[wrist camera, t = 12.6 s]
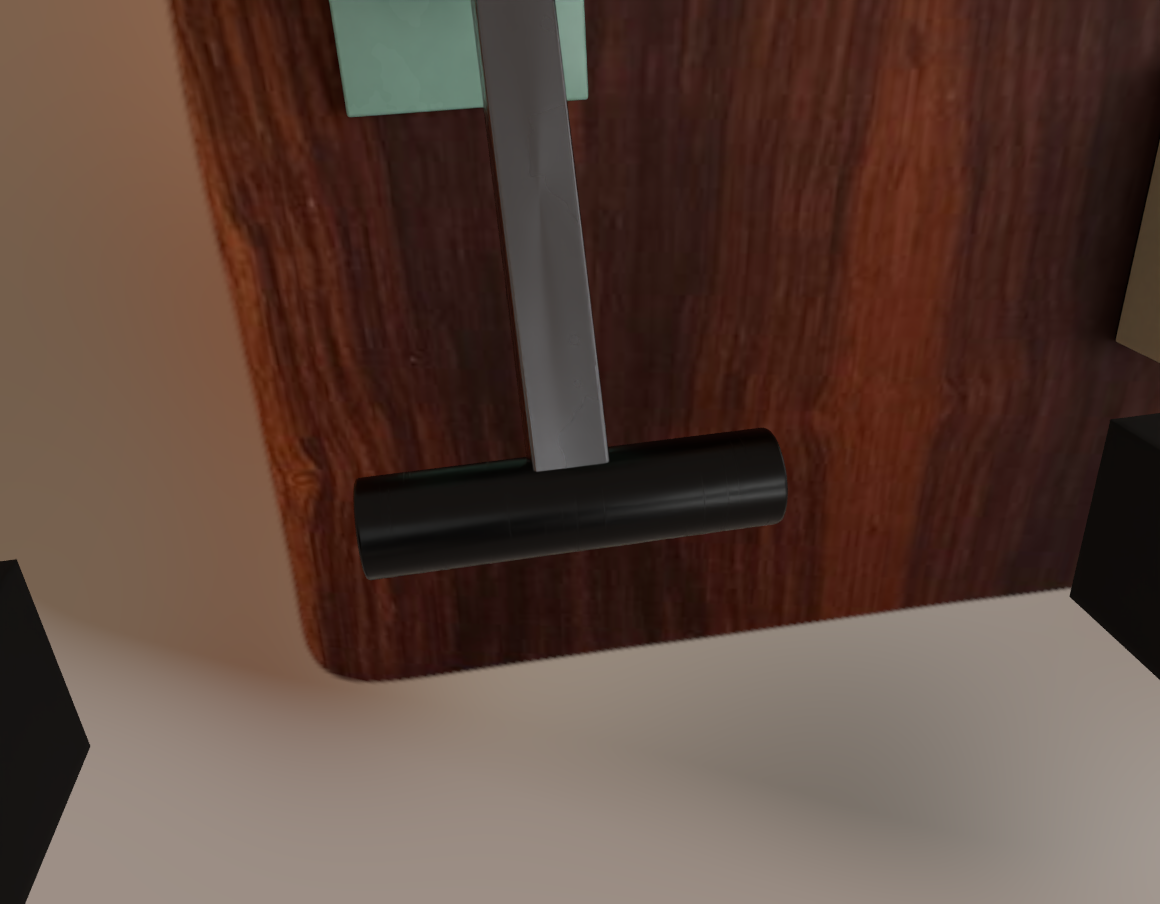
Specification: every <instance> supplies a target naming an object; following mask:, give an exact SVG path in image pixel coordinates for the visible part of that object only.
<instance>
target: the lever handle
mask: <svg viewBox="0 0 1160 904" xmlns="http://www.w3.org/2000/svg"><path fill="white" fill-rule="evenodd" d="M470 1H471V10H472V18H473V26H474V34H475V42H476V50H477V59H478V67H479V75H480V83H481V91H482V100H483V108H484V116H485V124H486V132H487V140H488V149H489V157H490V165H491V173H492V181H493V190H494V198H495V206H496V214H497V222H498V230H499V239H500V247H501V255H502V263H503V271H504V280H505V288H506V296H507V304H508V312H509V320H510V329H511V337H512V345H513V353H514V361H515V369H516V378H517V386H518V394H519V402H520V410H521V419H522V427H523V435H524V443H525V451H526V457H522V458H514V459H506V460H498V461H490V462H482V463H474V464H466V465H458V466H450V467H442V468H434V469H426V470H418V471H410V472H402V473H394V474H386V475H378V476H370V477H362V478H358V479H356V480H355V483H354V491H353V502H354V518H355V528H356V536H357V543H358V549H359V555H360V560H361V564H362V568H363V571H364V574H365V576H366V578H367V579H369V580H375V579H382V578H389V577H396V576H403V575H411V574H418V573H425V572H432V571H439V570H447V569H454V568H461V567H468V566H475V565H483V564H490V563H497V562H504V561H512V560H519V559H526V558H533V557H540V556H548V555H555V554H562V553H569V552H576V551H584V550H591V549H598V548H605V547H612V546H620V545H627V544H634V543H641V542H648V541H656V540H663V539H670V538H677V537H685V536H692V535H699V534H706V533H713V532H721V531H728V530H735V529H742V528H749V527H757V526H764V525H771V524H776V523H778V522H780V521H781V520H782V519H783V517H784V514H785V511H786V506H787V495H788V488H787V475H786V469H785V464H784V459H783V456H782V453H781V450H780V447H779V444H778V442H777V440H776V438H775V437H774V435H773V434H772V432H771V431H770V430H768V429H766V428H755V429H747V430H739V431H731V432H723V433H715V434H707V435H699V436H691V437H683V438H675V439H667V440H659V441H651V442H643V443H635V444H627V445H619V446H611V447H608V441H607V433H606V424H605V416H604V407H603V399H602V391H601V382H600V374H599V365H598V357H597V348H596V340H595V332H594V323H593V315H592V306H591V298H590V290H589V281H588V273H587V264H586V256H585V248H584V239H583V231H582V222H581V214H580V205H579V197H578V189H577V180H576V172H575V163H574V155H573V147H572V138H571V130H570V121H569V113H568V105H567V96H566V88H565V79H564V71H563V63H562V54H561V46H560V37H559V29H558V20H557V12H556V4H555V0H470Z"/></svg>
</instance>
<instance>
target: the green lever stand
mask: <svg viewBox="0 0 1160 904" xmlns="http://www.w3.org/2000/svg"><path fill="white" fill-rule="evenodd" d="M555 4H556V12H557V20H558V29H559V37H560V46H561V54H562V63H563V71H564V79H565V88H566V96H567V101H574V100H585V99H587V98H588V78H587V56H586V34H585V13H584V0H555ZM329 5H330V11H331V18H332V24H333V30H334V37H335V43H336V49H337V56H338V62H339V68H340V75H341V81H342V87H343V94H344V100H345V106H346V113H347V115H348V117H363V116H376V115H389V114H402V113H416V112H429V111H442V110H455V109H468V108H482V107H483V100H482V91H481V83H480V75H479V67H478V59H477V50H476V42H475V34H474V26H473V18H472V10H471V1H470V0H329Z"/></svg>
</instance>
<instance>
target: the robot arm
mask: <svg viewBox="0 0 1160 904" xmlns="http://www.w3.org/2000/svg"><path fill="white" fill-rule="evenodd" d="M1070 597H1071V598H1072V599H1073V600H1074V601H1075V602H1076V603H1077V604H1078V605H1079V606H1080V607H1081V608H1083V609H1084V610H1085V611H1086V612H1087V613H1088V614H1089V615H1090V616H1091V617H1092V618H1093V619H1094V620H1096V621H1097V622H1098V623H1099V624H1100V625H1101V626H1102V627H1103V628H1104V629H1105V630H1106V631H1107V632H1109V633H1110V634H1111V635H1112V636H1113V637H1114V638H1115V639H1116V640H1117V641H1118V642H1119V643H1120V644H1121V645H1123V646H1124V647H1125V648H1126V649H1127V650H1128V651H1129V652H1130V653H1131V654H1132V655H1133V656H1135V657H1136V658H1137V659H1138V660H1139V661H1140V662H1141V663H1142V664H1143V665H1144V666H1145V667H1146V668H1148V669H1149V670H1150V671H1151V672H1152V673H1153V674H1154V675H1155V676H1156V677H1157V678H1158V679H1160V413H1158V414H1150V415H1142V416H1135V417H1127V418H1119V419H1111V420H1110V424H1109V429H1108V433H1107V437H1106V442H1105V446H1104V450H1103V454H1102V459H1101V463H1100V467H1099V472H1098V476H1097V480H1096V485H1095V489H1094V493H1093V498H1092V502H1091V506H1090V510H1089V515H1088V519H1087V523H1086V528H1085V532H1084V536H1083V541H1082V545H1081V549H1080V554H1079V558H1078V562H1077V567H1076V571H1075V575H1074V579H1073V584H1072V588H1071V592H1070ZM89 748H90V744H89V742H88V739H87V736H86V734H85V731H84V729H83V727H82V724H81V721H80V719H79V716H78V714H77V711H76V709H75V706H74V704H73V701H72V698H71V696H70V694H69V691H68V688H67V686H66V683H65V681H64V678H63V676H62V673H61V671H60V668H59V666H58V663H57V661H56V658H55V655H54V653H53V650H52V648H51V645H50V643H49V640H48V638H47V635H46V633H45V630H44V628H43V625H42V623H41V620H40V618H39V615H38V612H37V610H36V607H35V605H34V602H33V600H32V597H31V595H30V592H29V590H28V587H27V585H26V582H25V579H24V577H23V574H22V572H21V569H20V567H19V564H18V562H17V560H8V561H0V904H25V902H26V900H27V898H28V895H29V893H30V890H31V888H32V886H33V883H34V881H35V878H36V876H37V873H38V871H39V869H40V866H41V864H42V861H43V859H44V857H45V854H46V852H47V849H48V847H49V844H50V842H51V840H52V837H53V835H54V833H55V830H56V828H57V825H58V823H59V820H60V818H61V816H62V813H63V811H64V808H65V806H66V804H67V801H68V799H69V796H70V794H71V792H72V789H73V787H74V784H75V782H76V780H77V777H78V775H79V772H80V770H81V767H82V765H83V762H84V760H85V758H86V755H87V753H88V751H89Z"/></svg>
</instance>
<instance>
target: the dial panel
mask: <svg viewBox="0 0 1160 904" xmlns="http://www.w3.org/2000/svg"><path fill="white" fill-rule="evenodd" d="M1116 342H1118V343H1120V344H1122V345H1124V346H1126V347H1128V348H1130V349H1132V350H1134V351H1136V352H1138V353H1141V354H1143V355H1145V356H1147V357H1149V358H1151V359H1153V360H1155V361H1157V362H1159V363H1160V141H1159V146H1158V150H1157V155H1156V159H1155V164H1154V169H1153V173H1152V178H1151V182H1150V187H1149V191H1148V196H1147V200H1146V205H1145V209H1144V214H1143V218H1142V223H1141V227H1140V232H1139V236H1138V241H1137V245H1136V250H1135V255H1134V259H1133V264H1132V268H1131V273H1130V277H1129V282H1128V286H1127V291H1126V295H1125V300H1124V304H1123V309H1122V313H1121V318H1120V322H1119V327H1118V331H1117V336H1116Z"/></svg>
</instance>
